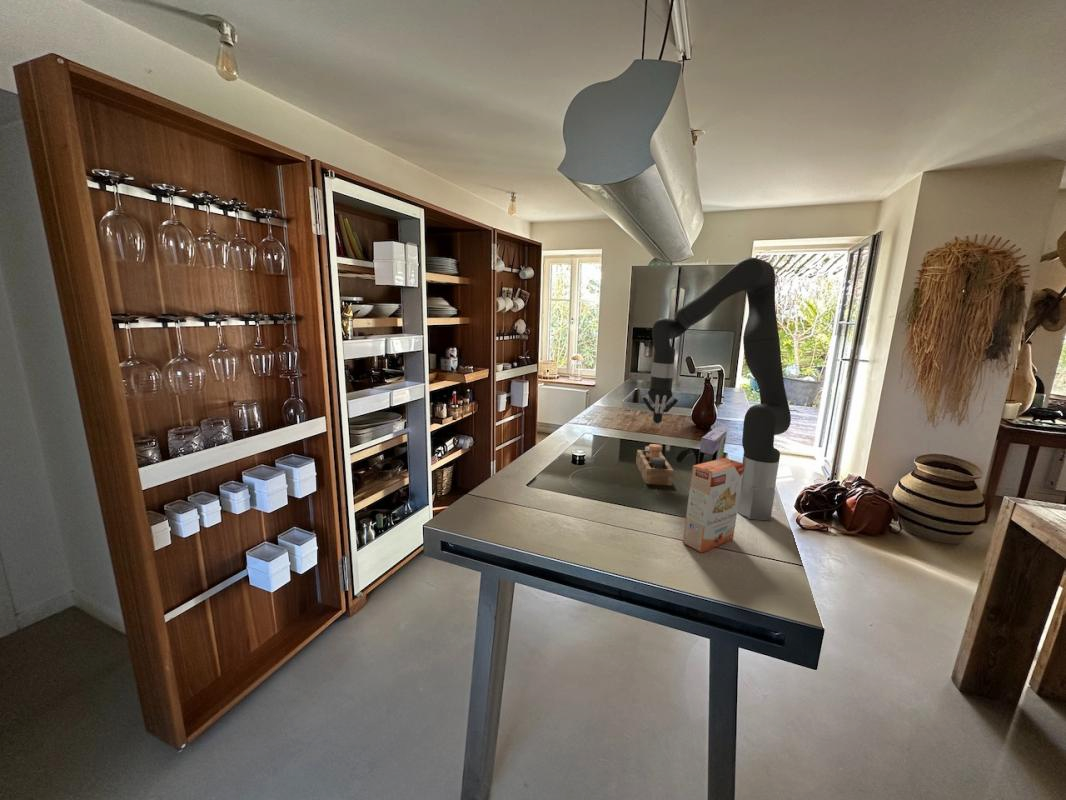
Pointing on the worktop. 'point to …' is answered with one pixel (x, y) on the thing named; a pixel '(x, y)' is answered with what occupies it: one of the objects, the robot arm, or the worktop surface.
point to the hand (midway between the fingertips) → (656, 422)
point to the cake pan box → (712, 446)
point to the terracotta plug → (654, 451)
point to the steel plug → (647, 451)
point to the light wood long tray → (654, 470)
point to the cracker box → (713, 503)
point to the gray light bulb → (658, 462)
